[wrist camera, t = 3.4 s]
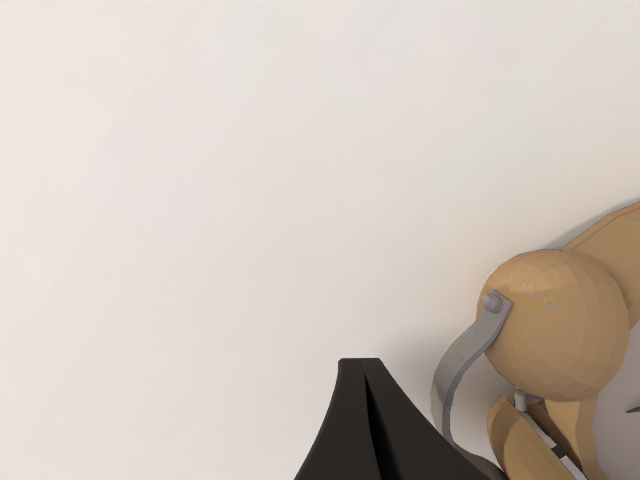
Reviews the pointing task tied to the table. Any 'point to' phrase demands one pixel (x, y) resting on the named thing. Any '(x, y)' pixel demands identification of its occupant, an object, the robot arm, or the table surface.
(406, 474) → the robot arm
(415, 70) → the table surface
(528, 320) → the alarm clock
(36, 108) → the table surface
